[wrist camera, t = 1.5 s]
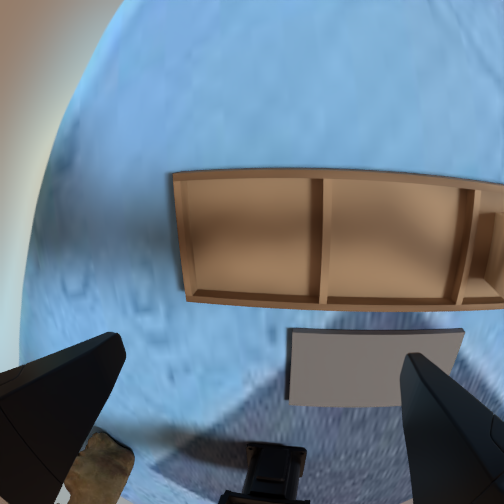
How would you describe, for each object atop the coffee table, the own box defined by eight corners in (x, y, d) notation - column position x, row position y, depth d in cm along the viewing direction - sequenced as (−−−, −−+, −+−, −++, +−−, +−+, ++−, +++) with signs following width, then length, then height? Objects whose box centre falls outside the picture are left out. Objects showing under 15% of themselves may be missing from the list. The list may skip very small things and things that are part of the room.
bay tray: (532, 298, 17) (541, 306, 16) (193, 292, 23) (186, 301, 22) (553, 194, 14) (564, 198, 13) (182, 171, 20) (172, 173, 19)
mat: (435, 398, 22) (436, 402, 22) (289, 400, 25) (288, 404, 24) (462, 328, 20) (465, 332, 19) (293, 328, 22) (292, 332, 22)
